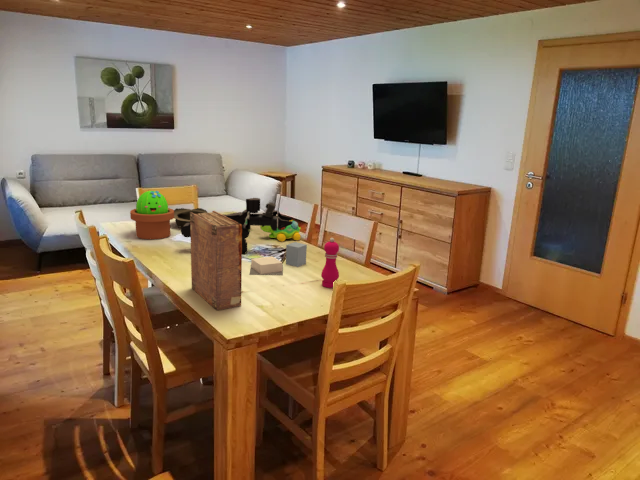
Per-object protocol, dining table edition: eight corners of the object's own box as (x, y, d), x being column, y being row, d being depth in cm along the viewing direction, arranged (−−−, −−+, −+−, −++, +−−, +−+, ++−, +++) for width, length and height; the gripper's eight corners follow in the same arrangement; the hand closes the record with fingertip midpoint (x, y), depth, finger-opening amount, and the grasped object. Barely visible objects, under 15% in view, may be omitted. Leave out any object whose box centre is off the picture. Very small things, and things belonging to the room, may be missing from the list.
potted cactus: (131, 231, 265) (128, 186, 259) (172, 230, 274) (171, 186, 267) (132, 242, 246) (129, 193, 240) (176, 239, 254) (175, 192, 248)
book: (191, 288, 187) (189, 212, 180) (214, 284, 192) (213, 210, 185) (217, 311, 167) (216, 226, 159) (241, 306, 172) (242, 224, 164)
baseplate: (249, 277, 202) (249, 274, 202) (251, 266, 217) (251, 263, 217) (282, 277, 204) (282, 275, 203) (282, 266, 218) (282, 264, 218)
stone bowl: (179, 219, 299) (180, 205, 296) (218, 225, 296) (219, 211, 294) (161, 227, 275) (162, 212, 272) (203, 234, 272) (204, 218, 270)
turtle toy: (255, 235, 270) (256, 215, 267) (294, 233, 280) (295, 213, 277) (264, 243, 255) (265, 221, 253) (305, 240, 265) (306, 219, 262)
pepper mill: (320, 282, 200) (322, 235, 195) (337, 282, 201) (340, 235, 196) (321, 288, 193) (323, 240, 188) (339, 288, 194) (342, 240, 189)
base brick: (251, 267, 212) (251, 258, 211) (272, 264, 217) (272, 256, 216) (260, 274, 203) (260, 265, 202) (282, 271, 208) (282, 262, 207)
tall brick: (285, 266, 219) (286, 244, 216) (294, 262, 224) (294, 242, 222) (297, 269, 216) (298, 247, 213) (305, 265, 221) (306, 244, 219)
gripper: (259, 207, 223) (293, 208, 224) (261, 199, 241) (292, 200, 242) (259, 230, 225) (292, 231, 227) (260, 221, 243) (291, 222, 245)
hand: (292, 220), depth 235 cm, fingers open, 9 cm apart
